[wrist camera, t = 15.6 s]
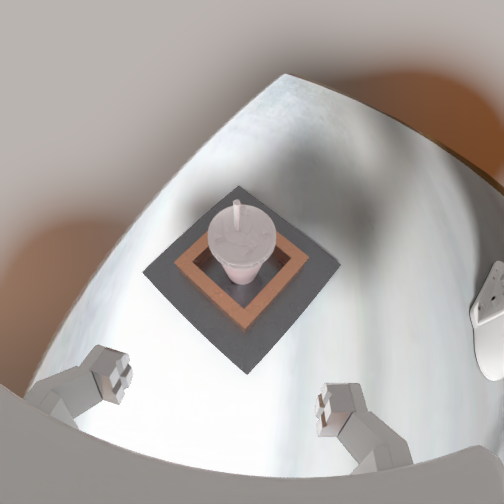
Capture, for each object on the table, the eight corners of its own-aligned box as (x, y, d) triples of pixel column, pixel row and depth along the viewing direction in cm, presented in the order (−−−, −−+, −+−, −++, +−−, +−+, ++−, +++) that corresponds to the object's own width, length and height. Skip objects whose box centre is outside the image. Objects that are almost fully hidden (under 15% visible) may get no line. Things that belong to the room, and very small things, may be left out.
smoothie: (240, 237, 36) (239, 163, 23) (278, 268, 34) (299, 204, 22) (205, 272, 34) (183, 209, 21) (244, 306, 32) (245, 260, 20)
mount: (238, 189, 40) (238, 172, 37) (338, 267, 36) (348, 255, 32) (144, 274, 35) (134, 263, 31) (247, 374, 30) (247, 375, 26)
